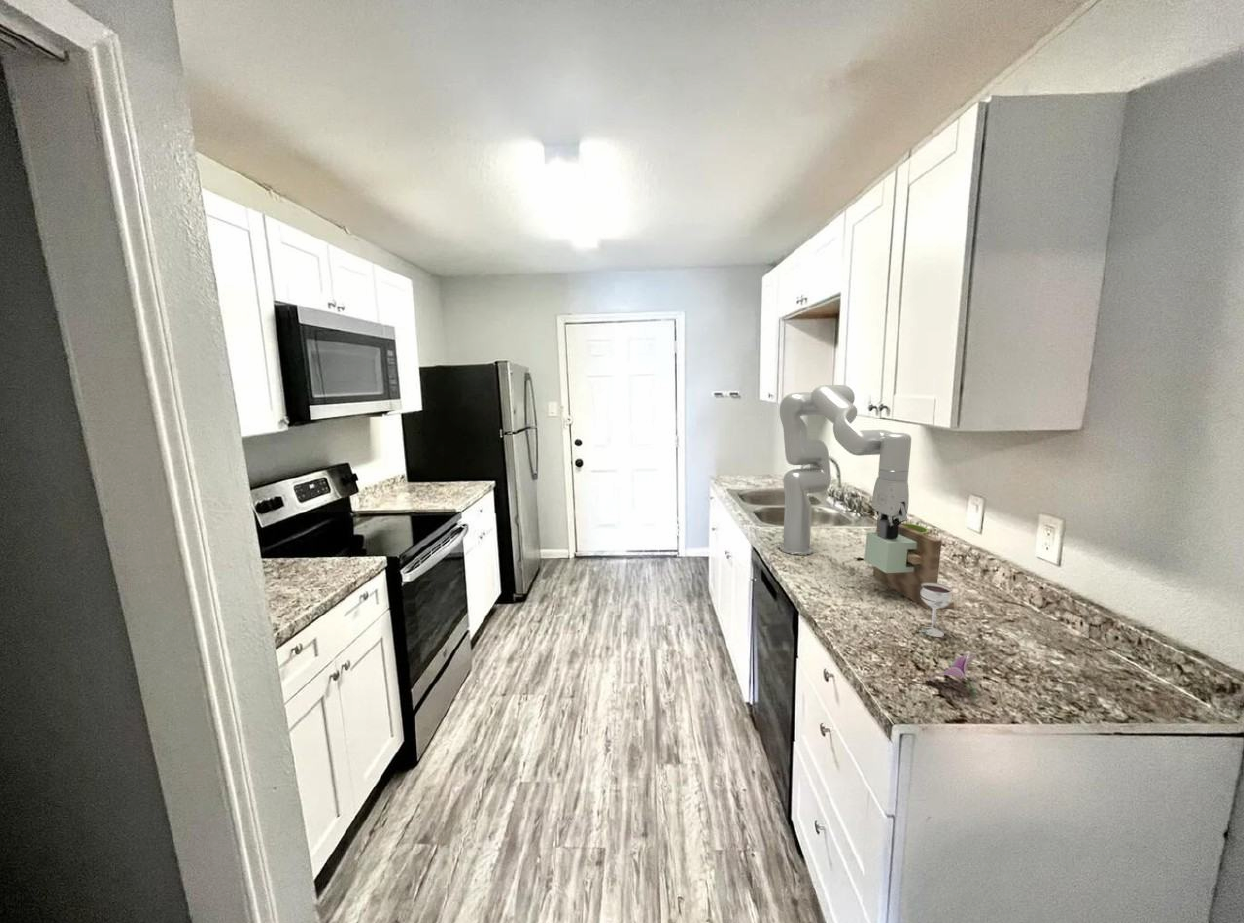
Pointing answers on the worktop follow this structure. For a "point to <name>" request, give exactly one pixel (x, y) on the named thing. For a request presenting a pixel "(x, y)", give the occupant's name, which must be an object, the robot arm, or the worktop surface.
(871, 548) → the mint green box
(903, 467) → the robot arm
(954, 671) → the lily
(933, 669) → the worktop surface
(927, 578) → the wall board
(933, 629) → the wineglass
